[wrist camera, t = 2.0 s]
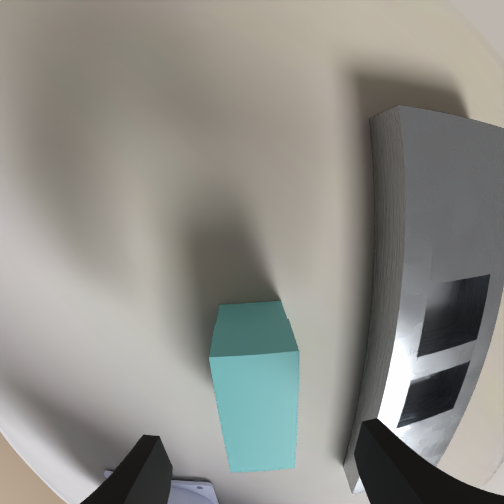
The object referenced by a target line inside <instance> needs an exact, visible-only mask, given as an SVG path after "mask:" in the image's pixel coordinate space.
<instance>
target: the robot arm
mask: <svg viewBox="0 0 504 504" xmlns="http://www.w3.org/2000/svg"><path fill="white" fill-rule="evenodd" d="M354 458H355V462H356V466H357V469H358V473H359V476H360V479H361V482H362V484H363V486H364V489H365V491H366V494H367V496H368V499H369V501H370V503H371V504H504V496H502V495H497V494H494V493H490V492H487V491H484V490H481V489H479V488H476V487H473V486H471V485H468V484H466V483H464V482H462V481H459V480H457V479H455V478H454V477H452V476H450V475H448V474H446V473H445V472H443V471H441V470H440V469H438V468H437V467H435V466H434V465H432V464H431V463H429V462H428V461H427V460H425V459H424V458H423V457H421V456H420V455H419V454H418V453H416V452H415V451H414V450H413V449H411V448H410V447H409V446H408V445H407V444H405V443H404V442H403V441H402V440H401V439H400V438H399V437H398V436H396V435H395V434H394V433H393V432H392V431H391V430H390V429H389V428H388V427H387V426H386V425H385V424H384V423H383V422H382V421H380V420H379V419H378V418H375V419H371V420H367V421H362V424H361V428H360V432H359V436H358V439H357V443H356V447H355V451H354ZM104 476H105V477H106V480H105V481H104V482H103V483H102V484H101V485H100V486H99V487H98V488H97V489H96V490H95V491H94V492H93V493H92V494H91V495H90V496H89V497H87V498H86V499H85V500H84V501H83V502H81V503H80V504H219V502H218V499H217V496H216V493H215V491H214V488H213V485H212V484H211V483H209V482H196V481H179V480H171V479H172V465H171V463H170V460H169V458H168V456H167V453H166V451H165V449H164V446H163V444H162V441H161V439H160V437H159V436H152V435H143V436H142V437H141V438H140V439H139V441H138V442H137V443H136V445H135V446H134V447H133V449H132V450H131V451H130V452H129V454H128V455H127V456H126V457H125V459H124V460H123V461H122V462H121V463H120V465H119V466H118V467H117V468H116V469H115V470H114V471H107V470H106V471H104Z"/></svg>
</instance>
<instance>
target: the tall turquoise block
mask: <svg viewBox="0 0 504 504" xmlns="http://www.w3.org/2000/svg"><path fill="white" fill-rule="evenodd" d="M209 362H210V368H211V374H212V380H213V386H214V391H215V397H216V402H217V408H218V413H219V418H220V423H221V429H222V434H223V438H224V443H225V448H226V453H227V457H228V462H229V467H230V471H231V472H255V471H269V470H280V469H289V468H295V458H296V440H297V418H298V386H299V349H298V346H297V343H296V340H295V337H294V334H293V331H292V328H291V325H290V322H289V319H287V317H286V314H285V311H284V308H283V305H282V302H281V301H268V302H255V303H240V304H225V305H219V310H218V315H217V321H216V324H215V325H214V331H213V336H212V342H211V347H210V353H209Z"/></svg>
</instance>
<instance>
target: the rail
mask: <svg viewBox="0 0 504 504" xmlns="http://www.w3.org/2000/svg"><path fill="white" fill-rule="evenodd" d="M369 119H370V129H371V140H372V153H373V170H374V197H375V243H374V271H373V288H372V301H371V313H370V323H369V333H368V341H367V349H366V356H365V364H364V370H363V377H362V383H361V389H360V394H359V400H358V405H357V410H356V415H355V420H354V425H353V429H352V434H351V438H350V442H349V446H348V450H347V454H346V458H345V462H344V466H343V468H344V471H345V474H346V477H347V480H348V483H349V486H350V489H351V492H352V494H356V493H360V492H364V491H365V489H364V486H363V484H362V482H361V479H360V476H359V473H358V469H357V466H356V462H355V458H354V451H355V447H356V443H357V439H358V436H359V432H360V428H361V424H362V421H367V420H371V419H375V418H378V419H379V420H380V421H382V422H383V423H384V424H385V425H386V426H387V427H388V428H389V429H390V430H391V431H392V432H393V433H394V434H395V435H396V436H398V437H399V438H400V439H401V440H402V441H403V442H404V443H405V444H407V445H408V446H409V447H410V448H411V449H413V450H414V451H415V452H416V453H418V454H419V455H420V456H421V457H423V458H424V459H425V460H427V461H428V462H429V463H431V464H432V465H434V466H435V467H436V466H437V464H438V462H439V461H440V459H441V457H442V455H443V454H444V452H445V450H446V448H447V447H448V445H449V443H450V441H451V439H452V437H453V435H454V433H455V431H456V429H457V427H458V425H459V423H460V421H461V419H462V417H463V415H464V412H465V410H466V408H467V406H468V403H469V401H470V399H471V396H472V394H473V391H474V389H475V386H476V384H477V381H478V378H479V376H480V373H481V370H482V367H483V364H484V361H485V358H486V355H487V352H488V349H489V345H490V342H491V338H492V335H493V331H494V327H495V324H496V320H497V315H498V311H499V307H500V302H501V297H502V292H503V286H504V128H501V127H498V126H494V125H491V124H488V123H484V122H480V121H477V120H473V119H469V118H465V117H461V116H456V115H452V114H447V113H442V112H437V111H432V110H427V109H421V108H415V107H409V106H402V105H397V106H395V107H393V108H391V109H388V110H386V111H384V112H382V113H380V114H377V115H375V116H373V117H371V118H369Z"/></svg>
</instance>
